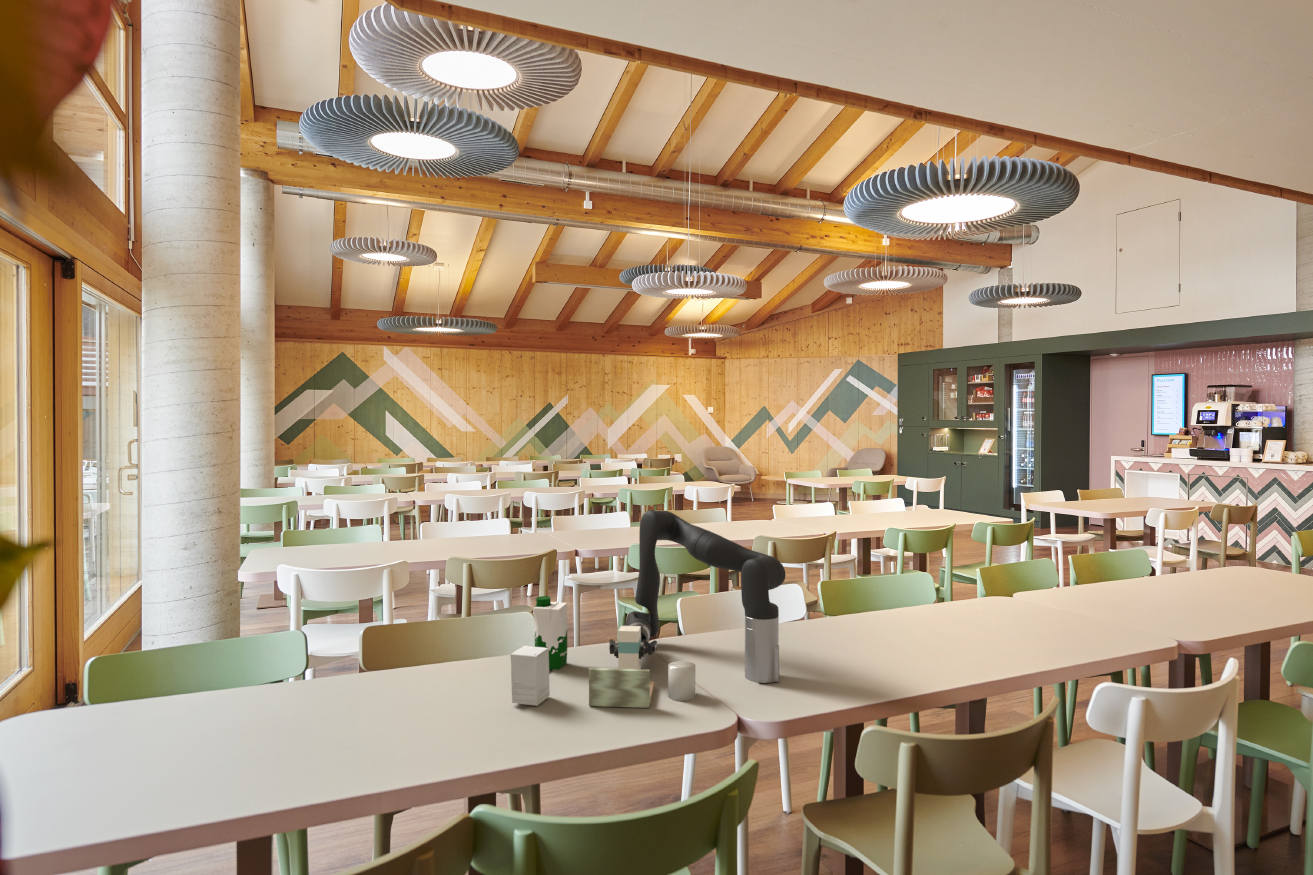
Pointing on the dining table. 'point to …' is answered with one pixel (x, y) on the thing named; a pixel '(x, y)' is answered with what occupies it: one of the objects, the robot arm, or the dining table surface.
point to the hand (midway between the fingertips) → (628, 654)
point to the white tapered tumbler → (681, 680)
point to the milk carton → (551, 630)
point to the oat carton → (629, 647)
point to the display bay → (620, 687)
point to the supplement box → (530, 675)
